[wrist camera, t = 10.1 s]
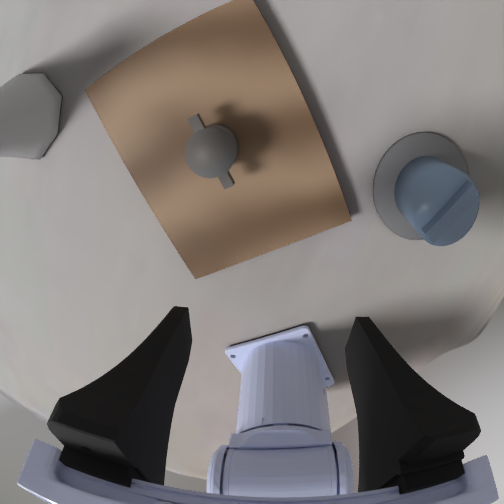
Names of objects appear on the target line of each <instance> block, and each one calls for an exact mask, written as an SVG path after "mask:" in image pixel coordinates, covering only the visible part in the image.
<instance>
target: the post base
mask: <svg viewBox="0 0 504 504" xmlns="http://www.w3.org/2000/svg"><path fill="white" fill-rule="evenodd" d="M85 91H86V93H87V95H88V97H89V99H90V101H91V103H92V105H93V107H94V109H95V110H96V112H97V114H98V116H99V118H100V120H101V122H102V124H103V126H104V127H105V129H106V131H107V133H108V135H109V137H110V138H111V140H112V142H113V144H114V146H115V148H116V149H117V151H118V153H119V155H120V156H121V158H122V160H123V162H124V164H125V165H126V167H127V169H128V171H129V172H130V174H131V176H132V177H133V179H134V181H135V183H136V184H137V186H138V188H139V189H140V191H141V193H142V195H143V196H144V198H145V200H146V201H147V203H148V205H149V206H150V208H151V210H152V211H153V213H154V214H155V216H156V218H157V219H158V221H159V223H160V224H161V226H162V227H163V229H164V231H165V232H166V234H167V236H168V237H169V239H170V240H171V242H172V243H173V245H174V247H175V248H176V250H177V251H178V253H179V254H180V256H181V258H182V259H183V261H184V262H185V264H186V265H187V267H188V268H189V270H190V271H191V273H192V274H193V276H194V277H195V279H198V278H201V277H203V276H206V275H209V274H211V273H214V272H217V271H219V270H222V269H225V268H227V267H230V266H233V265H235V264H238V263H241V262H243V261H246V260H249V259H251V258H254V257H257V256H259V255H262V254H265V253H267V252H270V251H273V250H275V249H278V248H281V247H283V246H286V245H289V244H291V243H294V242H297V241H299V240H302V239H304V238H307V237H310V236H312V235H315V234H318V233H320V232H323V231H326V230H328V229H331V228H333V227H336V226H339V225H341V224H344V223H347V222H349V221H352V220H351V217H350V214H349V211H348V208H347V205H346V202H345V199H344V196H343V194H342V191H341V188H340V185H339V183H338V180H337V177H336V174H335V172H334V169H333V167H332V164H331V161H330V159H329V156H328V154H327V151H326V149H325V146H324V144H323V141H322V139H321V136H320V134H319V132H318V129H317V127H316V124H315V122H314V120H313V117H312V115H311V113H310V111H309V108H308V106H307V104H306V102H305V99H304V97H303V95H302V93H301V91H300V89H299V86H298V84H297V82H296V80H295V78H294V76H293V74H292V72H291V70H290V68H289V66H288V64H287V62H286V60H285V58H284V56H283V54H282V52H281V50H280V48H279V46H278V44H277V42H276V40H275V38H274V36H273V35H272V33H271V31H270V29H269V27H268V25H267V24H266V22H265V20H264V18H263V16H262V15H261V13H260V11H259V9H258V8H257V6H256V4H255V3H254V1H253V0H233V1H231V2H229V3H226V4H224V5H222V6H219V7H217V8H215V9H213V10H211V11H209V12H207V13H205V14H203V15H201V16H198V17H197V18H195V19H193V20H191V21H189V22H187V23H185V24H183V25H181V26H179V27H178V28H176V29H174V30H172V31H170V32H169V33H167V34H165V35H163V36H162V37H160V38H158V39H157V40H155V41H153V42H152V43H150V44H149V45H147V46H145V47H144V48H142V49H141V50H139V51H138V52H136V53H135V54H133V55H132V56H130V57H129V58H127V59H126V60H124V61H123V62H121V63H120V64H118V65H117V66H116V67H114V68H113V69H111V70H110V71H109V72H107V73H106V74H105V75H103V76H102V77H101V78H99V79H98V80H97V81H96V82H94V83H93V84H92V85H90V86H89V87H88V88H87V89H85Z"/></svg>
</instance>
